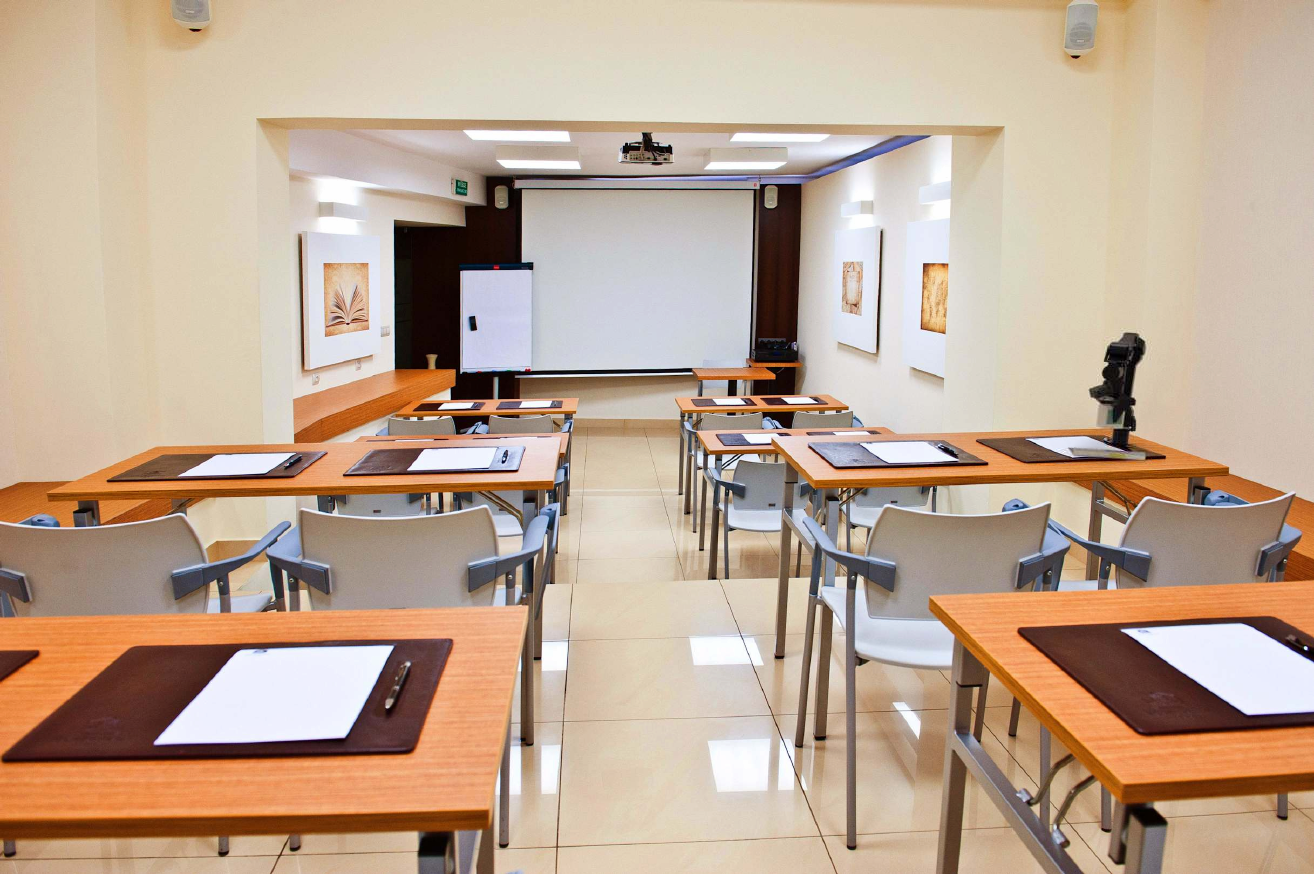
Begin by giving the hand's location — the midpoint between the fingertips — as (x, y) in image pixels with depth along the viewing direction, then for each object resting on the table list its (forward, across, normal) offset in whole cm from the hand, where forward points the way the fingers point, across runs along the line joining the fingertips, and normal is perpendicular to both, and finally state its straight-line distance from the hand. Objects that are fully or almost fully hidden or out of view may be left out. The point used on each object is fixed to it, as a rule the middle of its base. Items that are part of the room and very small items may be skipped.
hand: (1110, 421), depth 328 cm
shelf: (+13, +1, -1) cm, 13 cm away
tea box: (+2, 0, 0) cm, 2 cm away
